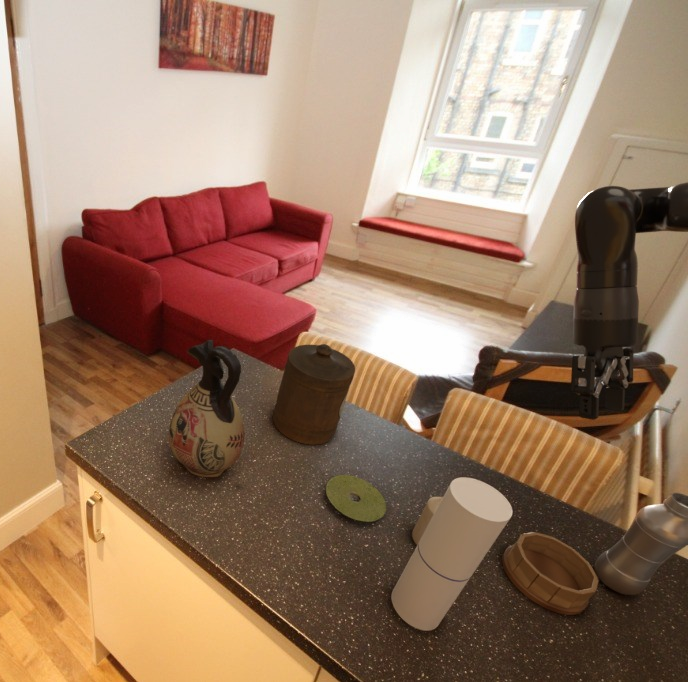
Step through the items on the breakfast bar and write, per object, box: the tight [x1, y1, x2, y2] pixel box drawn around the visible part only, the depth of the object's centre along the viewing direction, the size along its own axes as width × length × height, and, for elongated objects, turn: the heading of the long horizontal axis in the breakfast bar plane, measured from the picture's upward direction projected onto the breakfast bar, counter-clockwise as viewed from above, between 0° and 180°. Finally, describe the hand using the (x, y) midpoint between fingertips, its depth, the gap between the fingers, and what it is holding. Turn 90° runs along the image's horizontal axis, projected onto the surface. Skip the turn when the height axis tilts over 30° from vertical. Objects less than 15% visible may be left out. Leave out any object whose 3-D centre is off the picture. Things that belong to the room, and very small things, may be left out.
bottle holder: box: [501, 531, 600, 616], centre depth 75 cm, size 12×12×5 cm
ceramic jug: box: [168, 339, 246, 478], centre depth 86 cm, size 17×15×30 cm
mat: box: [325, 474, 387, 523], centre depth 87 cm, size 11×11×2 cm
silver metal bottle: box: [594, 492, 688, 596], centre depth 72 cm, size 6×7×20 cm
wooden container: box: [272, 343, 356, 445], centre depth 102 cm, size 15×15×22 cm
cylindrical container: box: [390, 476, 513, 632], centre depth 64 cm, size 7×7×25 cm
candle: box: [411, 496, 444, 546], centre depth 79 cm, size 6×6×10 cm
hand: (601, 413), depth 73 cm, fingers open, 8 cm apart
